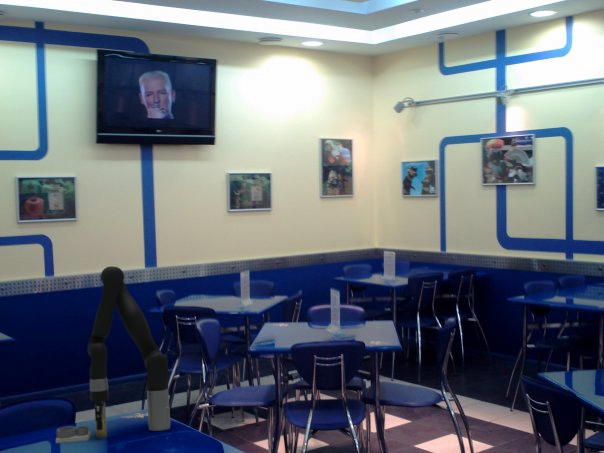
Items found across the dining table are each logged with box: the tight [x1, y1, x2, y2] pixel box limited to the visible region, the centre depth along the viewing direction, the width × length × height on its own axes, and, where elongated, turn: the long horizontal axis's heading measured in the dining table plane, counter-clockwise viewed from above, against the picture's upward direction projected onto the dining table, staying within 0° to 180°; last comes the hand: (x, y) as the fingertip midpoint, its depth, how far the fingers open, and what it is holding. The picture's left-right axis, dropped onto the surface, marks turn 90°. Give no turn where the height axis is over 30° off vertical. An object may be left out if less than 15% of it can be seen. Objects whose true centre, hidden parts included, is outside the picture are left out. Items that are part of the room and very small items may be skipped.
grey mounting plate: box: [55, 425, 92, 444], centre depth 326 cm, size 13×9×4 cm
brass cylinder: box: [94, 411, 108, 439], centre depth 328 cm, size 4×4×10 cm
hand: (101, 427), depth 328 cm, fingers open, 7 cm apart
